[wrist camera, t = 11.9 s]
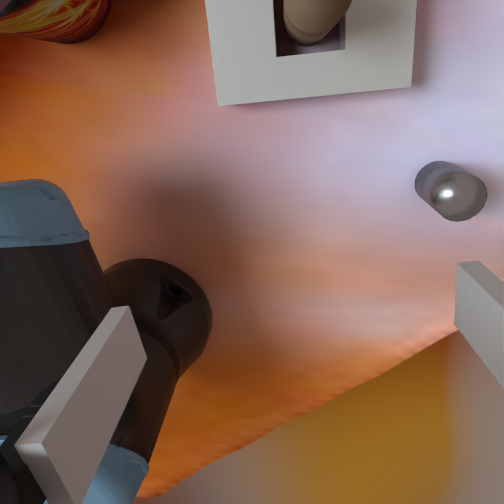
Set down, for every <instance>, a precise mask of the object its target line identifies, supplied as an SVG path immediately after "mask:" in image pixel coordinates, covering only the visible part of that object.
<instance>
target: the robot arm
mask: <svg viewBox="0 0 504 504" xmlns="http://www.w3.org/2000/svg"><path fill="white" fill-rule="evenodd" d="M89 238H90V235H89V232H88V231H87V230H85V229H84V228H83V226H82V224H81V222H80V220H79V218H78V216H77V214H76V212H75V210H74V208H73V206H72V204H71V202H70V200H69V198H68V197H67V195H66V194H65V192H64V191H63V190H62V189H61V188H60V187H58V186H57V185H55V184H54V183H51V182H49V181H46V180H41V179H28V180H18V181H10V182H3V183H0V504H132V503H133V501H134V498H135V496H136V494H137V492H138V490H139V488H140V486H141V483H142V481H143V479H144V477H145V476H146V475H147V473H148V470H149V466H148V465H149V461H150V458H151V455H152V452H153V450H154V447H155V444H156V441H157V438H158V435H159V432H160V430H161V427H162V424H163V421H164V418H165V415H166V412H167V410H168V407H169V404H170V401H171V398H172V395H173V393H174V390H175V386H176V384H177V381H178V379H179V378H180V377H181V375H182V374H183V373H184V372H185V371H186V370H187V369H188V368H189V366H190V365H191V364H192V363H194V362H195V361H196V360H197V359H198V357H199V356H200V355H201V353H202V352H203V350H204V348H205V346H206V344H207V341H208V338H209V334H210V331H211V326H212V314H211V309H210V305H209V303H208V300H207V298H206V296H205V294H204V293H203V291H202V290H201V288H200V287H199V286H198V285H197V284H196V282H195V281H194V280H192V279H191V278H190V277H189V276H188V275H187V274H185V273H184V272H182V271H181V270H179V269H177V268H175V267H173V266H171V265H169V264H166V263H163V262H160V261H155V260H149V259H132V260H127V261H123V262H120V263H117V264H115V265H113V266H111V267H110V268H108V269H107V270H105V271H104V272H103V271H102V269H101V267H100V264H99V262H98V260H97V258H96V255H95V253H94V251H93V248H92V246H91V244H90V242H89ZM454 324H455V325H456V327H457V328H458V329H459V331H460V332H461V333H462V334H463V336H464V337H465V338H466V340H467V341H468V342H469V344H470V345H471V346H472V348H473V349H474V350H475V351H476V353H477V354H478V355H479V357H480V358H481V359H482V361H483V362H484V363H485V365H486V366H487V367H488V368H489V370H490V371H491V372H492V374H493V375H494V376H495V377H496V379H497V380H498V382H499V383H500V384H501V385H502V387H503V388H504V282H503V281H501V280H500V279H499V278H498V277H497V276H496V275H494V274H493V273H492V272H491V271H490V270H489V269H487V268H486V267H485V266H484V265H483V264H482V263H480V262H479V261H472V262H464V263H457V275H456V296H455V317H454Z"/></svg>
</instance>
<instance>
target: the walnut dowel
mask: <svg viewBox="0 0 504 504" xmlns="http://www.w3.org/2000/svg"><path fill="white" fill-rule="evenodd" d="M351 2H352V0H284V28H285V32H286V34H287V36H288V37H289V39H290V40H291V41H292V42H294V43H295V44H297V45H299V46H312V45H315V44H317V43H318V42H319V41H321V40H322V39H323V38H324V37H325V36H326V35H327V33H328V32H329V31H330V30H331V29H332V28H333V27H334V26H335V25H336V24H337V23H338V22H339V21H340V20H341V19H342V17H343V16H344V15H345V14H346V12H347V11H348V9H349V7H350V5H351Z"/></svg>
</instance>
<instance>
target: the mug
mask: <svg viewBox="0 0 504 504" xmlns="http://www.w3.org/2000/svg"><path fill="white" fill-rule="evenodd" d="M111 1H112V0H0V33H1V34H7V35H13V36H20V37H26V38H32V39H38V40H44V41H50V42H57V43H63V44H76V43H79V42H82V41H85V40H87V39H89V38H90V37H92V36H94V35H95V34H96V33H97V32H98V30H99V29H100V28H101V27H102V25H103V24H104V22H105V21H106V19H107V16H108V13H109V10H110V7H111Z"/></svg>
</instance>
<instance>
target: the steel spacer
mask: <svg viewBox="0 0 504 504" xmlns="http://www.w3.org/2000/svg"><path fill="white" fill-rule="evenodd" d="M415 190H416V192H417V194H418V195H419V196H420V197H421V198H422V199H423V200H424V201H425V202H427V203H428V204H429V205H430V206H431V207H432V208H433V209H435V210H436V211H437V212H438V213H439V214H440V215H442V216H443V217H444V218H446V219H447V220H450V221H464V220H467V219H470V218H472V217H473V216H475V215H476V214H477V213H479V212H480V210H481V209H482V208H483V206H484V205H485V202H486V199H487V189H486V186H485V184H484V183H483V182H482V181H481V180H480V179H479V178H477V177H475V176H473V175H471V174H469V173H467V172H465V171H463V170H461V169H459V168H457V167H455V166H453V165H452V164H450V163H447V162H444V161H435V162H432V163H429V164H427V165H426V166H424V167H423V168H422V169H421V170H420V171H419V173H418V174H417V176H416V179H415Z"/></svg>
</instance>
